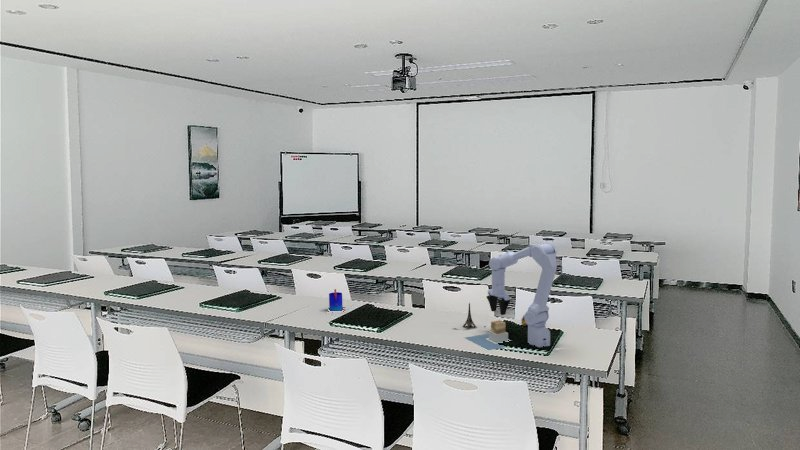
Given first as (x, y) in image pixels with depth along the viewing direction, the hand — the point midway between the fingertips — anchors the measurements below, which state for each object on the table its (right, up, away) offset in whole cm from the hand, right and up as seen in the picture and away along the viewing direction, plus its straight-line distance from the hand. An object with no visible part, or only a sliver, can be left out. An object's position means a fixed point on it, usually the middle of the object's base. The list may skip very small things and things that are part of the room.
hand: (498, 312), depth 259 cm
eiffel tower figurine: (-12, -10, +15) cm, 21 cm away
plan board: (-5, -12, -11) cm, 17 cm away
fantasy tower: (-80, -7, +53) cm, 96 cm away
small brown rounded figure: (+19, -9, +17) cm, 27 cm away
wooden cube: (-2, -7, -10) cm, 12 cm away
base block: (-2, -10, -10) cm, 14 cm away
